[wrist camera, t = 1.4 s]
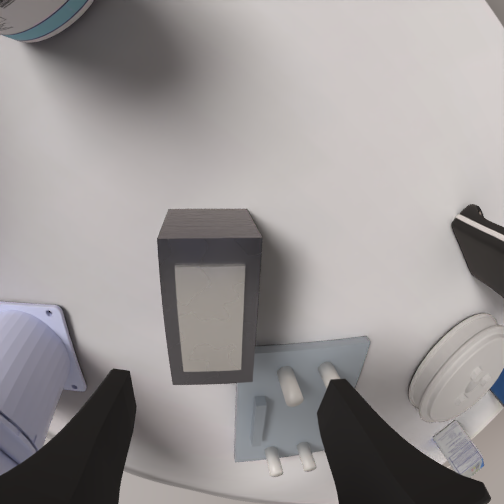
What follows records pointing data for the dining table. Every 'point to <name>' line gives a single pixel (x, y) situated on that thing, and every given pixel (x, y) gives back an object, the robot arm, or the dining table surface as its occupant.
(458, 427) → the medicine box
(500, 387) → the protein box
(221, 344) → the block
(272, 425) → the gray peg board
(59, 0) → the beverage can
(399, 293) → the dining table surface
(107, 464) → the robot arm
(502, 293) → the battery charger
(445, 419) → the lid
